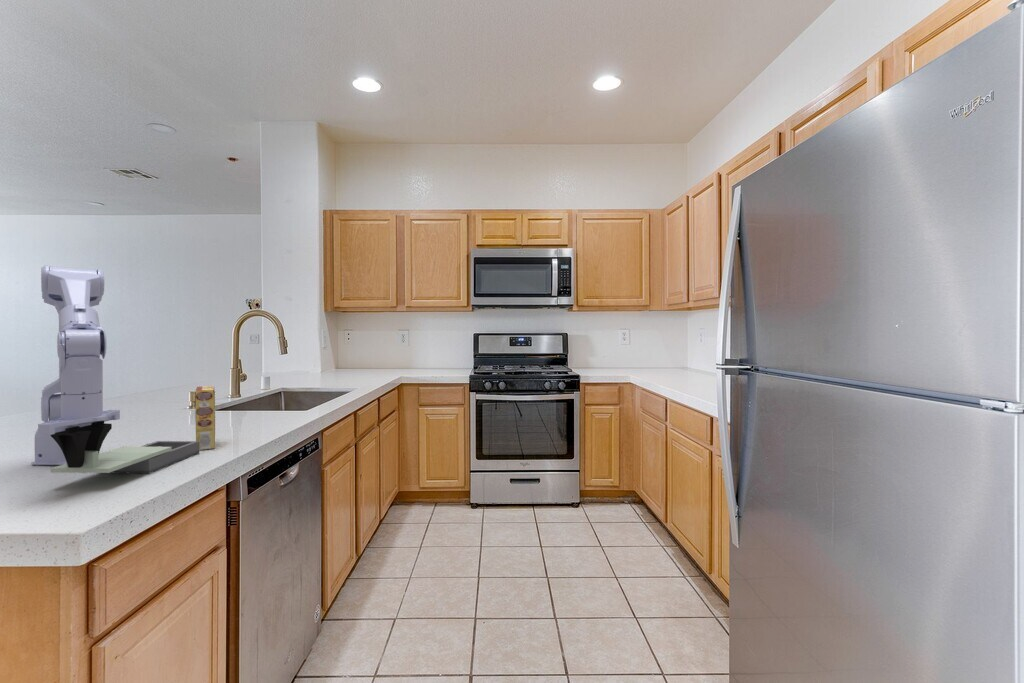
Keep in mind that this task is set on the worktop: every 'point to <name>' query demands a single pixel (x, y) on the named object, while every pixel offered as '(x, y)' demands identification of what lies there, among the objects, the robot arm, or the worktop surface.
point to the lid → (112, 459)
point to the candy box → (205, 417)
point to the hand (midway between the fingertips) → (82, 464)
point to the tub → (163, 457)
